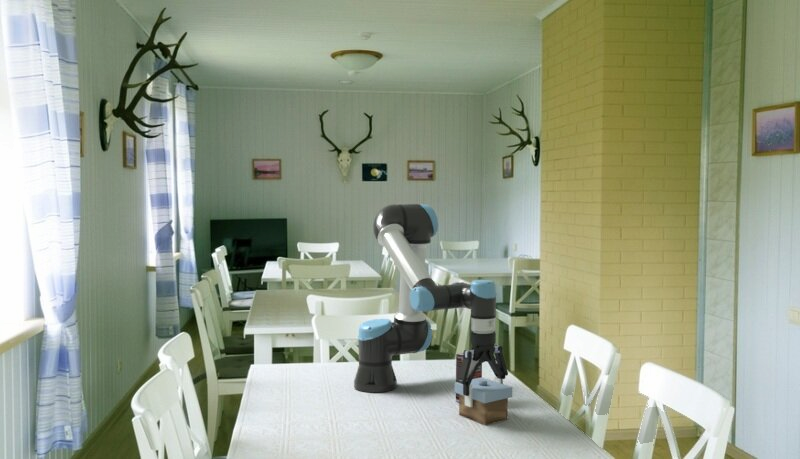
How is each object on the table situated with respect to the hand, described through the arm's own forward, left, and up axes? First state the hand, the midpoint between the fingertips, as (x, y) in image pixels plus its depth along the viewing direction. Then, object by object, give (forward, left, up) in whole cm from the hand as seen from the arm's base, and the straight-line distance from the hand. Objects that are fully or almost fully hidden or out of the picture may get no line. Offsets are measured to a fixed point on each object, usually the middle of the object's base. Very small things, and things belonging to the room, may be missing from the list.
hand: (483, 402), depth 219 cm
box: (0, 0, -5) cm, 5 cm away
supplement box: (-16, +8, -5) cm, 19 cm away
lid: (0, 0, +1) cm, 1 cm away
